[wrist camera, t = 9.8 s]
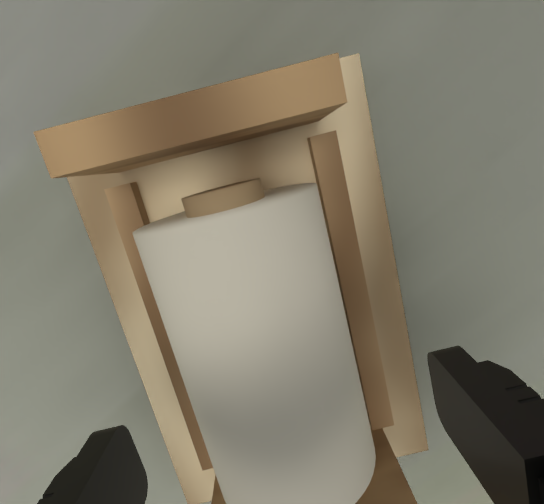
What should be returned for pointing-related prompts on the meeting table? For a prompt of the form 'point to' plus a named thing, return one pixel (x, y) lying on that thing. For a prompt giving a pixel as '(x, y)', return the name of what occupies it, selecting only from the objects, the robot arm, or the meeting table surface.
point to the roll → (263, 342)
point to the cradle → (273, 173)
